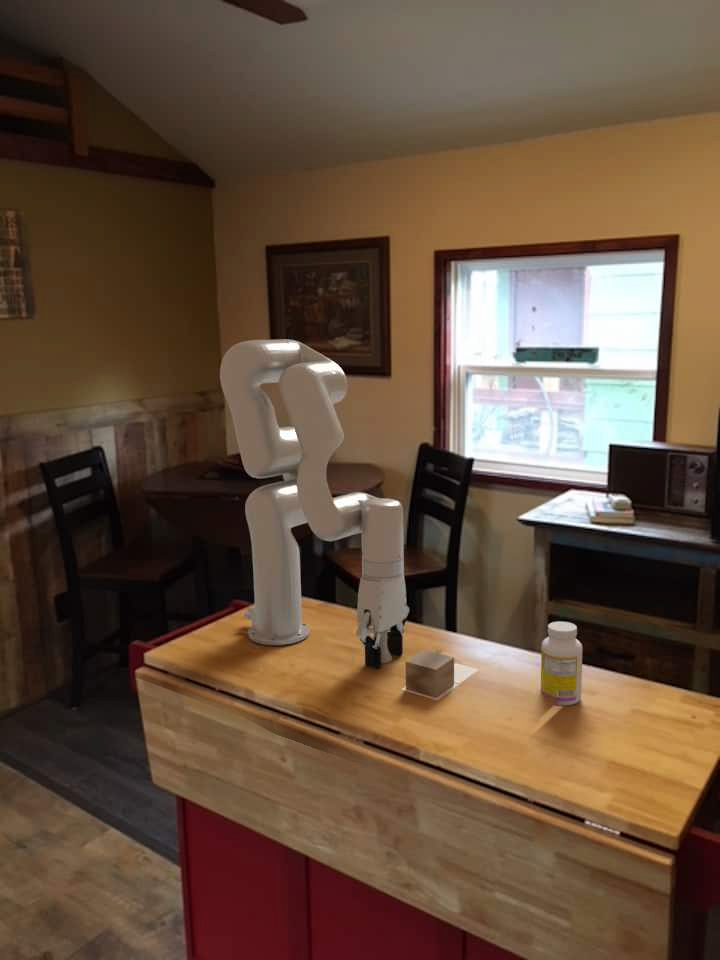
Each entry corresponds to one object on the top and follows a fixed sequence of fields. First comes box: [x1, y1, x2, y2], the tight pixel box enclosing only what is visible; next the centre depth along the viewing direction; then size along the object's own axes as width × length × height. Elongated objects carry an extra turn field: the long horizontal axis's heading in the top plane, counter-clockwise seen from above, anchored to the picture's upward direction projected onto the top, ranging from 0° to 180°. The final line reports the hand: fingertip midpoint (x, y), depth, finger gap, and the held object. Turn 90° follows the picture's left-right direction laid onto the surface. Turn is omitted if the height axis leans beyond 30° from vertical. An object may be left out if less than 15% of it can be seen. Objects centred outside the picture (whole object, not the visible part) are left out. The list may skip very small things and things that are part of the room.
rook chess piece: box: [371, 626, 393, 665], centre depth 150 cm, size 4×4×8 cm
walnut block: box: [405, 649, 455, 698], centre depth 138 cm, size 6×6×5 cm
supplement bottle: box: [540, 621, 583, 707], centre depth 135 cm, size 7×7×13 cm
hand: (384, 659), depth 150 cm, fingers open, 6 cm apart
